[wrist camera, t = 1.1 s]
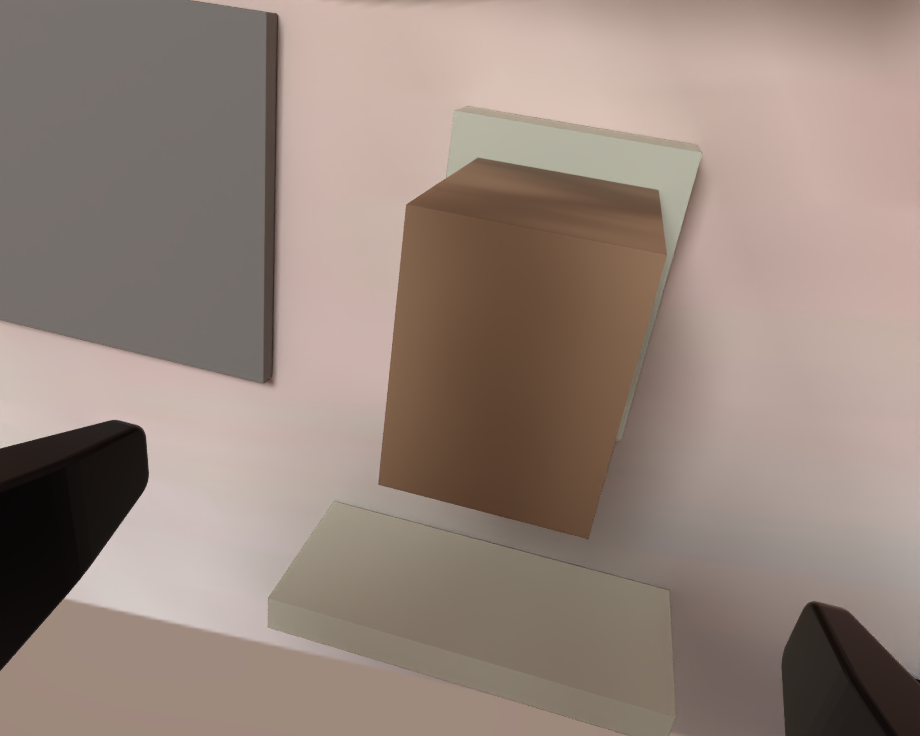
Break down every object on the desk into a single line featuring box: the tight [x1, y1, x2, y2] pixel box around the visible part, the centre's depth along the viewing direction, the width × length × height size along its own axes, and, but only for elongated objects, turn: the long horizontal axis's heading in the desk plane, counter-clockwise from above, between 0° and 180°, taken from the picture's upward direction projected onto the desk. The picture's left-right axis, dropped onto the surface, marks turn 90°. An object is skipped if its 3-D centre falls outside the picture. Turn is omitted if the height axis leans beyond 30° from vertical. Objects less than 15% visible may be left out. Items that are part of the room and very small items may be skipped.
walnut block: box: [378, 158, 667, 539], centre depth 16 cm, size 4×6×6 cm
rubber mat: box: [0, 0, 277, 383], centre depth 22 cm, size 11×11×1 cm
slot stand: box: [268, 106, 702, 736], centre depth 17 cm, size 12×22×5 cm, turn 172°
